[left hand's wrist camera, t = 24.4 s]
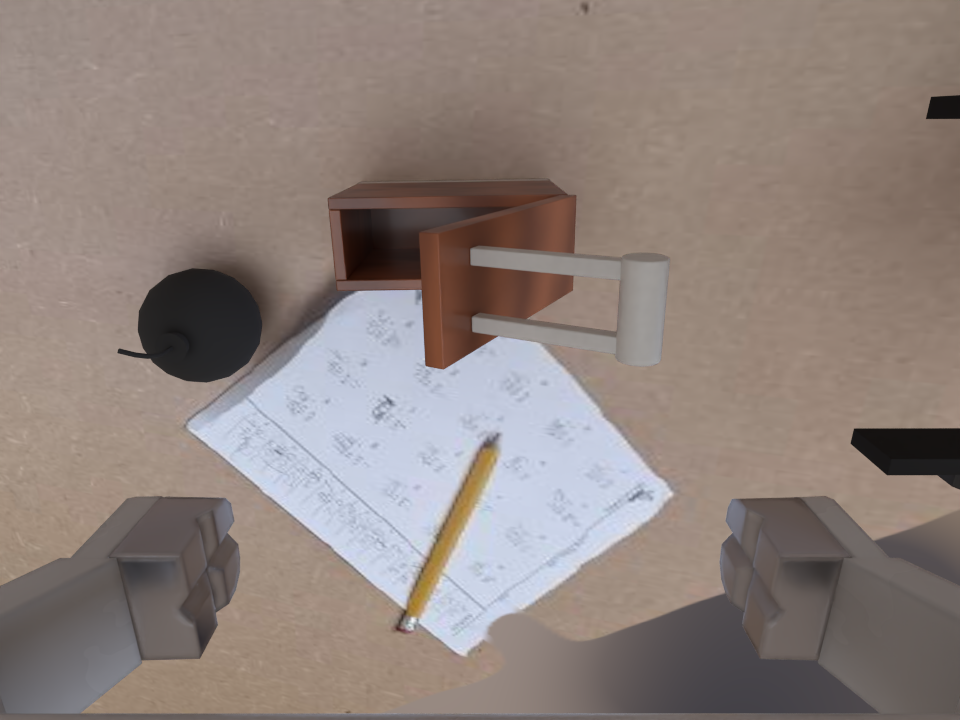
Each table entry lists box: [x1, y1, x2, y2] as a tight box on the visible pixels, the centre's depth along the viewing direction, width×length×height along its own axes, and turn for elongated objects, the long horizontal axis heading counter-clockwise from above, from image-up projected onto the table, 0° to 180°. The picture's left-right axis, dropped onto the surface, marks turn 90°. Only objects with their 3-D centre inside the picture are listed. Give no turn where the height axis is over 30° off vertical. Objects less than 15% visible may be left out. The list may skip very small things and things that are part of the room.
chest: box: [328, 179, 568, 291], centre depth 41 cm, size 13×5×10 cm, turn 91°
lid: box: [419, 195, 670, 369], centre depth 28 cm, size 14×5×9 cm
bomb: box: [117, 269, 262, 382], centre depth 42 cm, size 8×8×12 cm
